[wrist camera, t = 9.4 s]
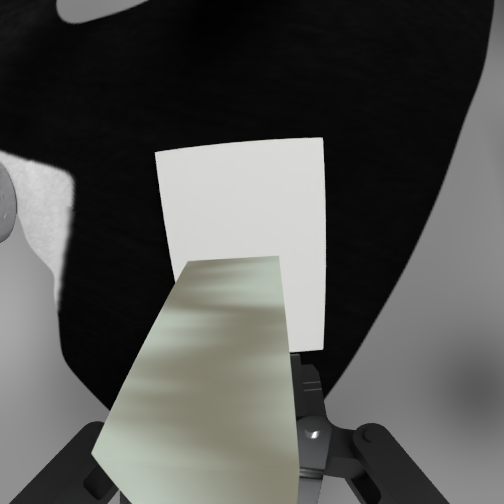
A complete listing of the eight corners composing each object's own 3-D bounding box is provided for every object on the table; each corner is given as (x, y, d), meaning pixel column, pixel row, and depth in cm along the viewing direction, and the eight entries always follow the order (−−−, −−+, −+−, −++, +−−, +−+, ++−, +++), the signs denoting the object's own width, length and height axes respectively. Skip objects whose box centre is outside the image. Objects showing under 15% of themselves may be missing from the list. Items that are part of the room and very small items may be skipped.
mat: (192, 350, 29) (191, 355, 28) (158, 151, 23) (155, 152, 22) (321, 344, 28) (322, 349, 28) (320, 137, 22) (322, 137, 21)
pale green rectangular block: (215, 402, 17) (190, 559, 8) (187, 261, 14) (91, 453, 5) (284, 401, 17) (290, 562, 8) (278, 255, 14) (299, 469, 5)
